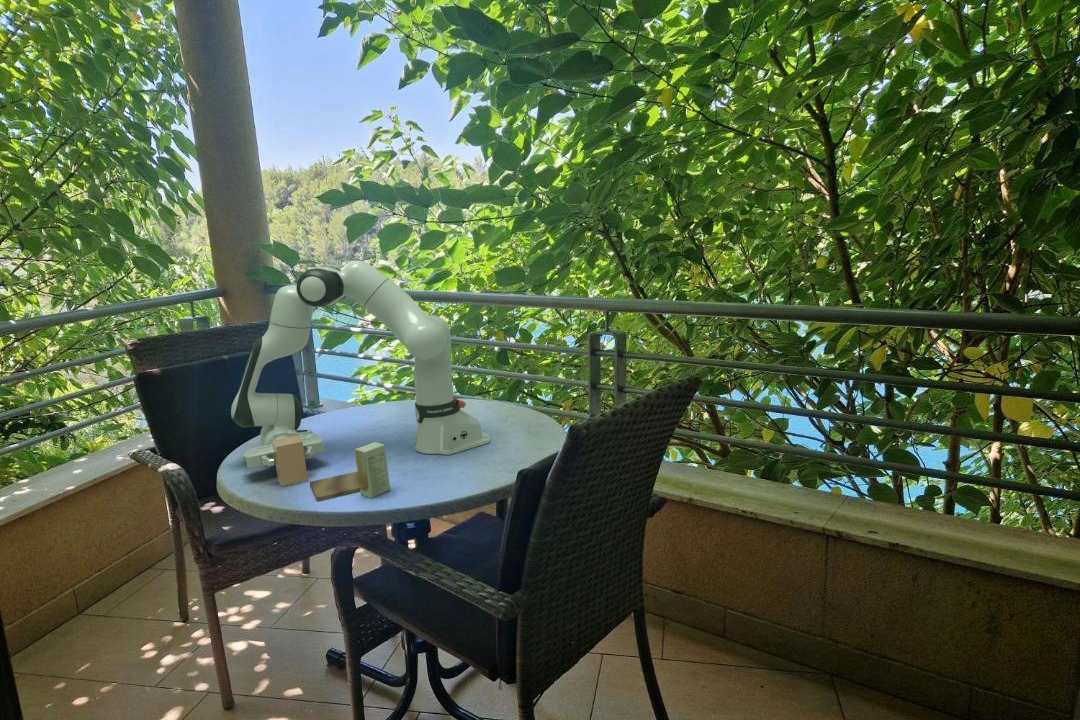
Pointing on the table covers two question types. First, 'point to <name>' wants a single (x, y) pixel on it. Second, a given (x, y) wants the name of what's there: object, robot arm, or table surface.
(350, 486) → the board
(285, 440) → the tall tan cardboard box
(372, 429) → the table surface
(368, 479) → the skincare box
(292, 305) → the robot arm
